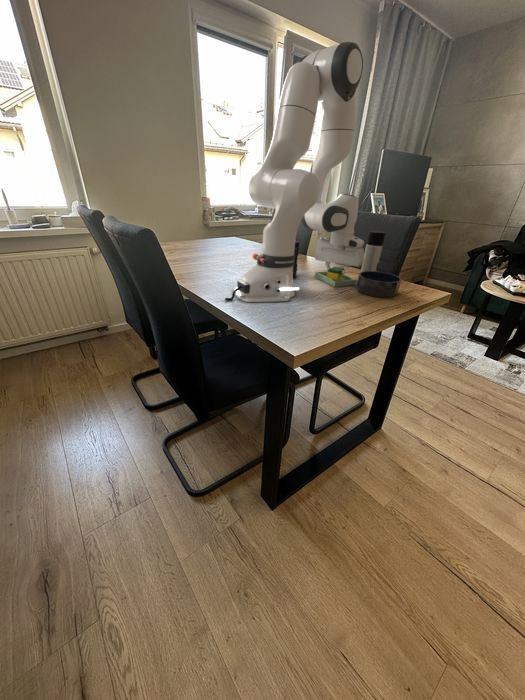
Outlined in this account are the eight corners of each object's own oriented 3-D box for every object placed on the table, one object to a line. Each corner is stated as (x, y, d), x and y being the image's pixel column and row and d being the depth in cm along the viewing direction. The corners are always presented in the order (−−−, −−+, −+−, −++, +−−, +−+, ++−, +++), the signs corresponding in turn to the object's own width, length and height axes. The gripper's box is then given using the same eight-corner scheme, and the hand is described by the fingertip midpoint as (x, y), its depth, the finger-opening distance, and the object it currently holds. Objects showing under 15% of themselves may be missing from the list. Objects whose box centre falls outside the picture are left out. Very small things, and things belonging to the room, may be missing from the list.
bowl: (374, 300, 103) (378, 283, 100) (347, 287, 115) (350, 272, 112) (406, 296, 108) (411, 280, 105) (377, 284, 121) (381, 270, 118)
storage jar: (278, 279, 120) (280, 242, 113) (271, 273, 128) (273, 238, 121) (299, 278, 123) (303, 242, 115) (291, 272, 131) (294, 238, 123)
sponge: (337, 280, 118) (338, 271, 117) (326, 278, 121) (328, 269, 119) (342, 276, 124) (344, 268, 122) (332, 274, 126) (334, 266, 124)
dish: (334, 287, 115) (335, 281, 113) (314, 276, 127) (315, 271, 125) (355, 284, 118) (356, 279, 117) (334, 275, 130) (335, 270, 129)
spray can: (376, 281, 124) (388, 233, 113) (361, 281, 124) (372, 232, 113) (371, 277, 129) (382, 231, 119) (357, 277, 129) (367, 230, 119)
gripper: (314, 237, 117) (310, 270, 124) (363, 244, 107) (356, 279, 114) (320, 235, 121) (316, 268, 128) (368, 241, 112) (360, 276, 119)
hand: (335, 273), depth 121 cm, fingers closed on sponge, 4 cm apart
